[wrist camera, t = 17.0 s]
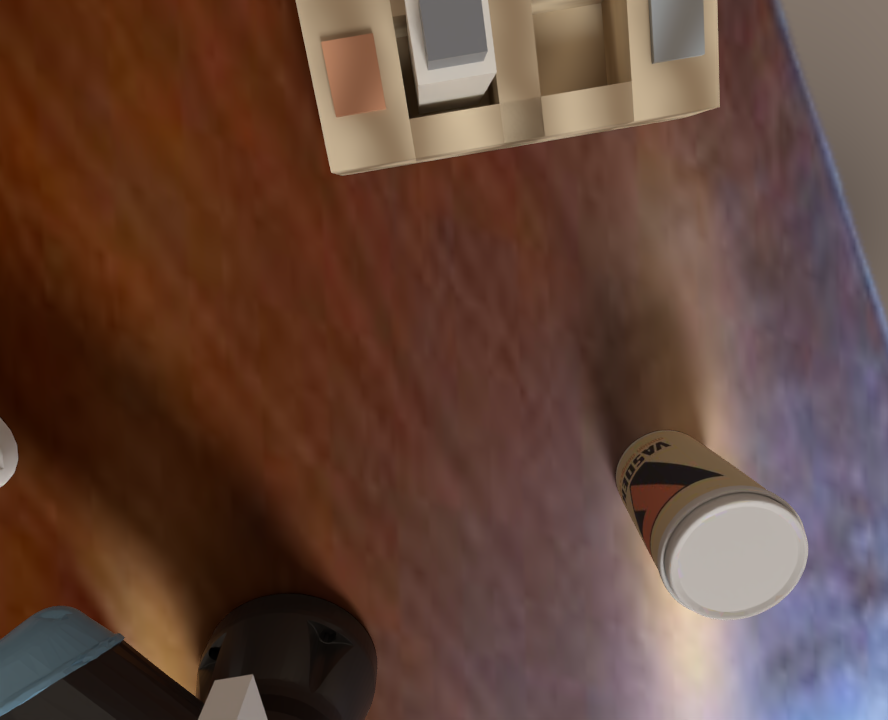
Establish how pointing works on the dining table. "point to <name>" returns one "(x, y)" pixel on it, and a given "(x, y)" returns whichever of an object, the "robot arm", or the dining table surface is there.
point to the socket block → (508, 76)
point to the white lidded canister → (710, 527)
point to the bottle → (7, 453)
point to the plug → (450, 52)
